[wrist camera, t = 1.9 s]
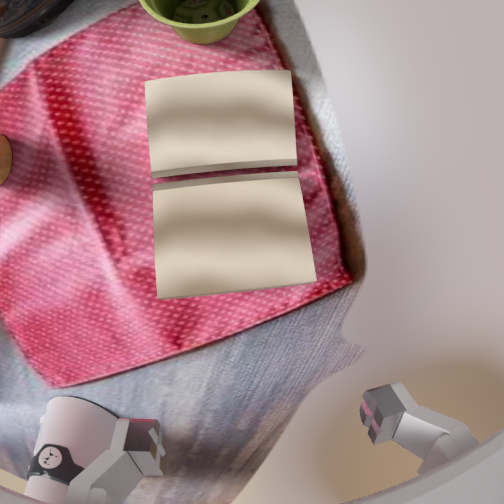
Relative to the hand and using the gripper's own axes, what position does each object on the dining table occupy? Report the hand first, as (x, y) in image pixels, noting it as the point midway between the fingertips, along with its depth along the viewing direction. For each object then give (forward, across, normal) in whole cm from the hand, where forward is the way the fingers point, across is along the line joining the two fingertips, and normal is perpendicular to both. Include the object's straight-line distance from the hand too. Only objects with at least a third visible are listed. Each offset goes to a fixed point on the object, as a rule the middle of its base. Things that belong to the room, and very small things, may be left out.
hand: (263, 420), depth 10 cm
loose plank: (+19, 0, -2) cm, 19 cm away
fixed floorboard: (+22, 0, -12) cm, 25 cm away
